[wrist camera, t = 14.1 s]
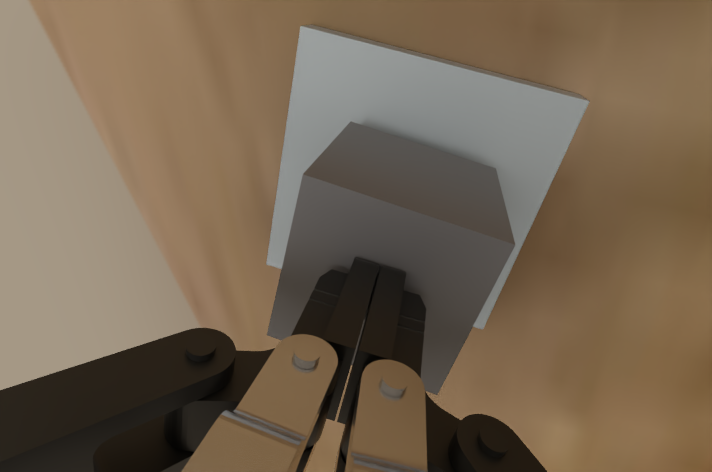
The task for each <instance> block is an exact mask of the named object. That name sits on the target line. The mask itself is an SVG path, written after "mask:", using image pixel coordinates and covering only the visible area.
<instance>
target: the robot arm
mask: <svg viewBox="0 0 712 472" xmlns="http://www.w3.org/2000/svg"><path fill="white" fill-rule="evenodd" d="M378 268H379V265H378V264H375V263H371V262H368V261H365V260H361V259H358V258H354V261H353V263H352V266H351V268H350V271H349V274H346V273H343V272H340V271H336V270H333V269H331V270H330V271H328V272H327V273H325V274H323V275H322V276H320V277H319V279H318V281H317V284H316V286H315V288H314V290H313V292H312V294H311V296H310V298H309V300H308V302H307V304H306V306H305V308H304V310H303V312H302V314H301V316H300V318H299V320H298V322H297V324H296V326H295V328H294V330H293V332H292V334H291V336H289V337H287V338H285V339H283V340H282V341H281V342H279V344H278V345H277V346H276V348H274V349H271V350H267V351H236V348H235V345H234V343H233V341H232V340H231V339H230V338H229V337H228V336H227V335H226V334H224V333H222V332H220V331H218V330H215V329H210V328H195V329H190V330H186V331H183V332H180V333H177V334H174V335H171V336H168V337H164V338H162V339H158V340H155V341H152V342H149V343H146V344H143V345H140V346H137V347H134V348H131V349H127V350H124V351H121V352H118V353H115V354H112V355H109V356H106V357H103V358H100V359H96V360H93V361H90V362H87V363H84V364H81V365H78V366H75V367H71V368H68V369H65V370H62V371H59V372H56V373H53V374H50V375H47V376H44V377H41V378H37V379H34V380H31V381H28V382H25V383H22V384H19V385H16V386H13V387H10V388H6V389H3V390H0V472H305V471H306V468H307V466H308V463H309V461H310V458H311V456H312V454H313V451H314V448H315V445H316V442H317V441H318V440H319V438H320V436H321V434H322V431H323V428H324V424H325V421H326V418H327V419H330V420H333V421H334V420H335V417H336V414H337V410H338V407H339V403H340V400H341V397H342V393H343V390H344V386H345V383H346V380H347V376H348V373H349V369H350V366H351V363H352V359H353V356H354V352H355V349H356V345H357V342H358V338H359V335H360V331H361V328H362V324H363V321H364V317H365V314H366V310H367V307H368V303H369V300H370V296H371V292H372V289H373V285H374V282H375V278H376V275H377V271H378ZM405 278H406V272H402V271H399V270H396V269H392V268H389V267H385V266H381V269H380V272H379V276H378V279H377V282H376V286H375V289H374V293H373V296H372V299H371V303H370V306H369V309H368V313H367V316H366V320H365V323H364V327H363V330H362V334H361V337H360V341H359V345H358V348H357V352H356V355H355V359H354V363H353V366H352V370H351V373H350V377H349V381H348V384H347V388H346V391H345V395H344V399H343V402H342V406H341V409H340V413H339V417H338V420H337V422H340V423H343V424H345V428H344V432H343V436H342V440H341V443H340V446H339V449H338V452H337V456H336V462H335V468H334V472H547V471H546V470H545V468H544V467H543V466H542V465H541V464H540V462H539V461H538V460H537V459H536V458H535V456H534V455H533V454H532V453H531V452H530V450H529V449H528V448H527V447H526V446H525V444H524V443H523V442H522V441H521V440H520V438H519V437H518V436H517V435H516V434H515V433H514V431H513V430H512V429H510V428H509V427H508V426H507V425H506V424H504V423H503V422H501V421H499V420H498V419H496V418H493V417H491V416H488V415H483V414H472V415H469V416H467V417H465V418H463V419H462V420H459V419H457V418H456V417H454V416H453V415H451V414H449V413H448V412H446V411H444V410H443V409H441V408H440V407H439V406H438V405H436V404H435V403H434V402H433V401H432V400H431V399H430V398H429V396H428V395H427V394H426V392H425V387H424V384H423V382H422V380H421V365H422V353H423V342H424V330H425V318H426V307H425V305H424V303H423V301H422V298H421V296H420V295H418V294H414V293H411V292H408V291H404V284H405Z"/></svg>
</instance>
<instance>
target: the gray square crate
mask: <svg viewBox="0 0 712 472" xmlns="http://www.w3.org/2000/svg"><path fill="white" fill-rule="evenodd" d="M514 247H515V241H514V237H513V233H512V229H511V225H510V221H509V218H508V214H507V210H506V206H505V202H504V198H503V194H502V190H501V186H500V183H499V179H498V175H497V171H496V168H493V167H490V166H487V165H483V164H480V163H477V162H474V161H471V160H468V159H465V158H462V157H459V156H456V155H453V154H450V153H447V152H444V151H440V150H437V149H434V148H431V147H428V146H425V145H422V144H419V143H416V142H413V141H410V140H407V139H404V138H400V137H397V136H394V135H391V134H388V133H385V132H382V131H379V130H376V129H373V128H370V127H367V126H364V125H361V124H357V123H354V122H350V123H349V124H348V125H347V126H346V127H345V128H344V129H343V130H342V131H341V133H340V134H339V135H338V136H337V137H336V138H335V139H334V140H333V141H332V143H331V144H330V145H329V146H328V147H327V148H326V149H325V150H324V151H323V152H322V154H321V155H320V156H319V157H318V158H317V159H316V160H315V161H314V162H313V163H312V165H311V166H310V167H309V168H308V169H307V170H306V171H305V172H304V173H303V176H302V180H301V185H300V189H299V193H298V198H297V202H296V207H295V211H294V216H293V220H292V225H291V229H290V234H289V238H288V243H287V247H286V252H285V256H284V261H283V265H282V270H281V274H280V279H279V283H278V288H277V292H276V297H275V301H274V306H273V310H272V315H271V319H270V324H269V328H268V332H267V335H268V336H271V337H274V338H277V339H279V340H283V339H285V338H287V337H289V336H291V334H292V332H293V330H294V328H295V326H296V324H297V322H298V320H299V318H300V316H301V314H302V312H303V310H304V308H305V306H306V304H307V302H308V300H309V298H310V296H311V294H312V292H313V290H314V288H315V286H316V284H317V281H318V279H319V277H320V276H322V275H323V274H325V273H327V272H328V271H330V270H331V269H333V270H336V271H340V272H343V273H346V274H349V271H350V268H351V266H352V263H353V261H354V258H358V259H361V260H365V261H368V262H371V263H375V264H378V265H379V268H378V271H377V275H376V278H375V282H374V285H373V289H372V292H371V296H370V300H369V303H368V307H367V310H366V314H365V317H364V321H363V324H362V328H361V331H360V335H359V338H358V342H357V345H356V349H355V352H354V356H353V359H352V363H351V365H353V363H354V359H355V355H356V352H357V348H358V345H359V341H360V337H361V334H362V330H363V327H364V323H365V320H366V316H367V313H368V309H369V306H370V303H371V299H372V296H373V293H374V289H375V286H376V282H377V279H378V276H379V272H380V269H381V266H385V267H389V268H392V269H396V270H399V271H402V272H406V278H405V284H404V291H408V292H411V293H414V294H418V295H420V296H421V298H422V301H423V303H424V305H425V307H426V318H425V330H424V342H423V353H422V365H421V380H422V382H423V384H424V387H425V391H428V392H430V393H433V394H436V395H437V394H438V392H439V390H440V388H441V387H442V385H443V383H444V381H445V379H446V377H447V375H448V373H449V371H450V369H451V367H452V366H453V364H454V362H455V360H456V358H457V356H458V354H459V352H460V350H461V348H462V346H463V344H464V343H465V341H466V339H467V337H468V335H469V333H470V331H471V329H472V327H473V325H474V323H475V322H476V320H477V318H478V316H479V314H480V312H481V310H482V308H483V306H484V304H485V302H486V300H487V299H488V297H489V295H490V293H491V291H492V289H493V287H494V285H495V283H496V281H497V279H498V278H499V276H500V274H501V272H502V270H503V268H504V266H505V264H506V262H507V260H508V258H509V256H510V255H511V253H512V251H513V249H514Z"/></svg>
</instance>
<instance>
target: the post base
mask: <svg viewBox="0 0 712 472" xmlns="http://www.w3.org/2000/svg"><path fill="white" fill-rule="evenodd" d="M589 102H590V101H588V100H587V99H586V98H584V97H583V96H581V95H580V94H576V93H572V92H569V91H565V90H561V89H557V88H553V87H549V86H546V85H542V84H538V83H534V82H530V81H526V80H523V79H519V78H515V77H511V76H507V75H503V74H500V73H496V72H492V71H488V70H484V69H480V68H476V67H473V66H469V65H465V64H461V63H457V62H453V61H450V60H446V59H442V58H438V57H434V56H430V55H427V54H423V53H419V52H415V51H411V50H407V49H404V48H400V47H396V46H392V45H388V44H384V43H380V42H377V41H373V40H369V39H365V38H361V37H357V36H354V35H350V34H346V33H342V32H338V31H334V30H331V29H327V28H323V27H319V26H315V25H304V26H301V27H300V34H299V41H298V48H297V55H296V62H295V69H294V75H293V82H292V89H291V96H290V103H289V110H288V117H287V124H286V131H285V138H284V145H283V152H282V159H281V166H280V173H279V180H278V187H277V194H276V201H275V207H274V214H273V221H272V228H271V235H270V242H269V249H268V256H267V263H266V265H270V266H273V267H276V268H280V269H282V265H283V261H284V256H285V252H286V247H287V243H288V238H289V234H290V229H291V225H292V220H293V216H294V211H295V207H296V202H297V198H298V193H299V189H300V185H301V180H302V176H303V173H304V172H305V171H306V170H307V169H308V168H309V167H310V166H311V165H312V163H313V162H314V161H315V160H316V159H317V158H318V157H319V156H320V155H321V154H322V152H323V151H324V150H325V149H326V148H327V147H328V146H329V145H330V144H331V143H332V141H333V140H334V139H335V138H336V137H337V136H338V135H339V134H340V133H341V131H342V130H343V129H344V128H345V127H346V126H347V125H348V124H349V123H350V122H354V123H357V124H361V125H364V126H367V127H370V128H373V129H376V130H379V131H382V132H385V133H388V134H391V135H394V136H397V137H400V138H404V139H407V140H410V141H413V142H416V143H419V144H422V145H425V146H428V147H431V148H434V149H437V150H440V151H444V152H447V153H450V154H453V155H456V156H459V157H462V158H465V159H468V160H471V161H474V162H477V163H480V164H483V165H487V166H490V167H493V168H496V171H497V175H498V179H499V183H500V186H501V190H502V194H503V198H504V202H505V206H506V210H507V214H508V218H509V221H510V225H511V229H512V233H513V237H514V241H515V247H514V249H513V251H512V253H511V255H510V256H509V258H508V260H507V262H506V264H505V266H504V268H503V270H502V272H501V274H500V276H499V278H498V279H497V281H496V283H495V285H494V287H493V289H492V291H491V293H490V295H489V297H488V299H487V300H486V302H485V304H484V306H483V308H482V310H481V312H480V314H479V316H478V318H477V320H476V322H475V323H474V325H473V327H476V328H479V329H483V328H484V326H485V324H486V322H487V320H488V318H489V315H490V313H491V311H492V309H493V307H494V305H495V303H496V300H497V298H498V296H499V294H500V292H501V290H502V288H503V285H504V283H505V281H506V279H507V277H508V275H509V273H510V270H511V268H512V266H513V264H514V262H515V260H516V258H517V256H518V253H519V251H520V249H521V247H522V245H523V243H524V241H525V238H526V236H527V234H528V232H529V230H530V228H531V226H532V223H533V221H534V219H535V217H536V215H537V213H538V211H539V208H540V206H541V204H542V202H543V200H544V198H545V196H546V193H547V191H548V189H549V187H550V185H551V183H552V181H553V179H554V176H555V174H556V172H557V170H558V168H559V166H560V164H561V161H562V159H563V157H564V155H565V153H566V151H567V149H568V146H569V144H570V142H571V140H572V138H573V136H574V134H575V131H576V129H577V127H578V125H579V123H580V121H581V119H582V116H583V114H584V112H585V110H586V108H587V106H588V104H589Z"/></svg>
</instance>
